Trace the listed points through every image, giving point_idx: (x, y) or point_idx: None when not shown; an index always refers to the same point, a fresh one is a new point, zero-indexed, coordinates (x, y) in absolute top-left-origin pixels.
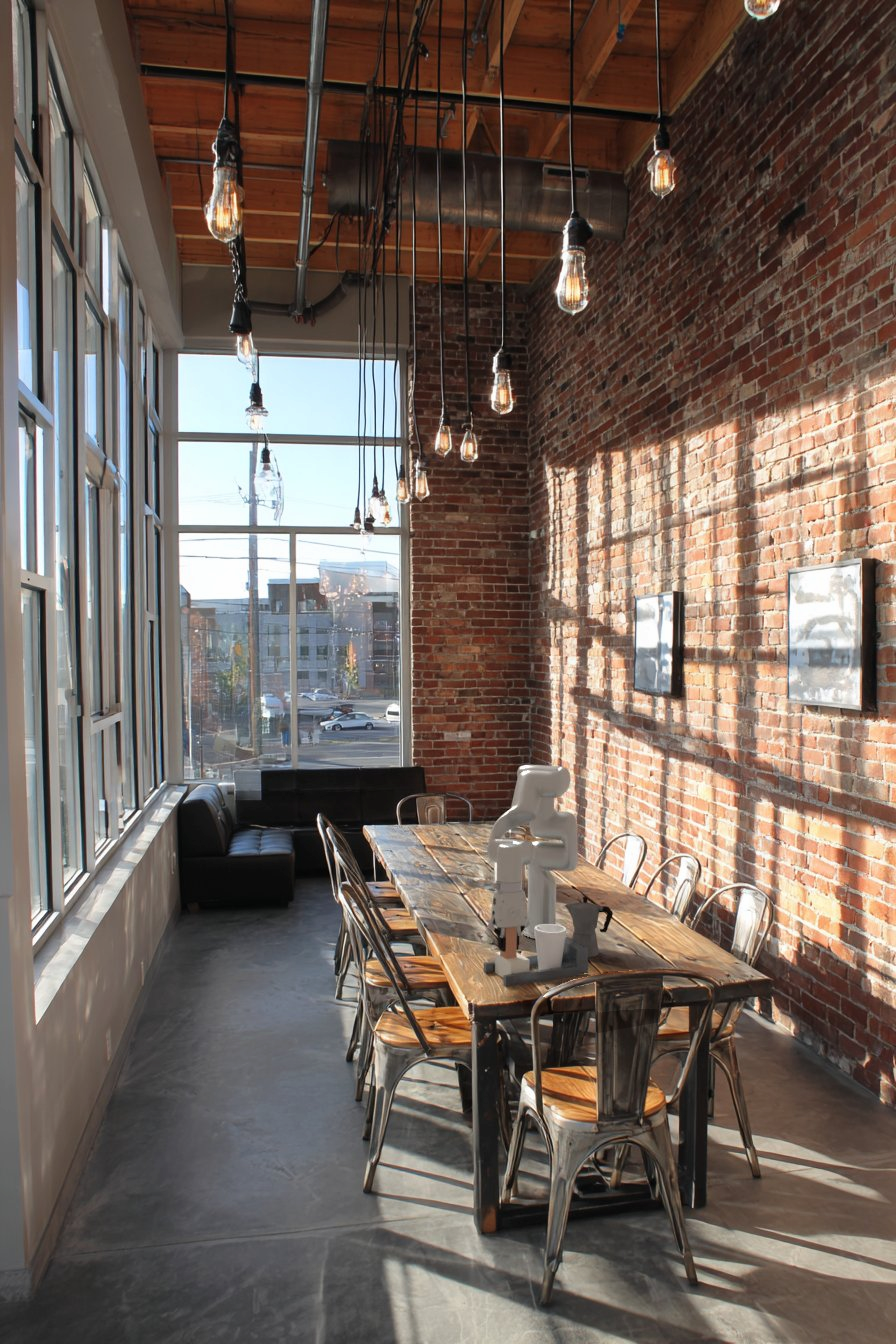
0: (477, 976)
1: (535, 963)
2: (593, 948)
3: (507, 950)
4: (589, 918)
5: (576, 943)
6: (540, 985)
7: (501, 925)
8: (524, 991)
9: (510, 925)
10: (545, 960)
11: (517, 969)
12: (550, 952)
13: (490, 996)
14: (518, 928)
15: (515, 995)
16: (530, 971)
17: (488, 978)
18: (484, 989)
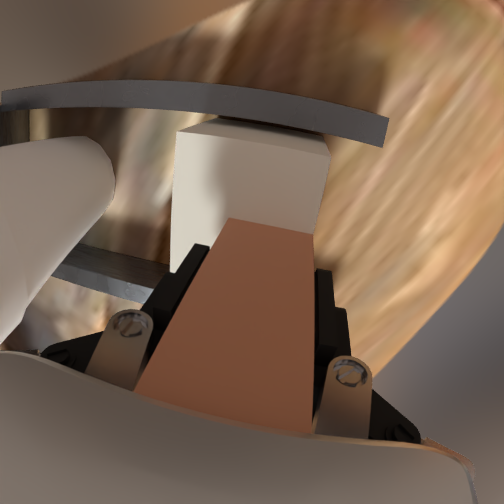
0: (372, 294)
1: (95, 256)
2: None
3: (299, 261)
4: None
5: None
6: (206, 45)
7: (440, 475)
8: (332, 19)
9: (274, 452)
10: (71, 167)
11: (280, 137)
12: (27, 156)
13: (496, 80)
14: (113, 373)
15: (404, 10)
16: (202, 110)
17: (356, 253)
18: (465, 158)
